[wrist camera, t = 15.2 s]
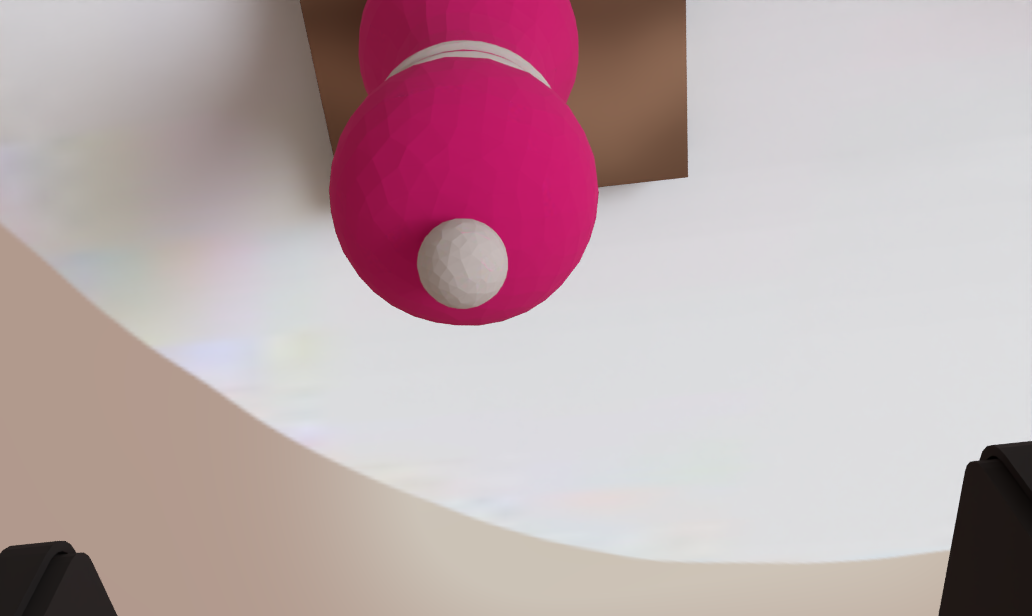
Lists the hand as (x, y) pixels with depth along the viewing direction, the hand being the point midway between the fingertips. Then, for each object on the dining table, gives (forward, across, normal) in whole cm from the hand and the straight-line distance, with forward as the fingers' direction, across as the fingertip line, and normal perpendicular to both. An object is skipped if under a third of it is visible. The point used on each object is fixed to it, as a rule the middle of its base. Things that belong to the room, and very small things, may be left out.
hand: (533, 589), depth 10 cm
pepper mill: (+28, +1, +1) cm, 28 cm away
